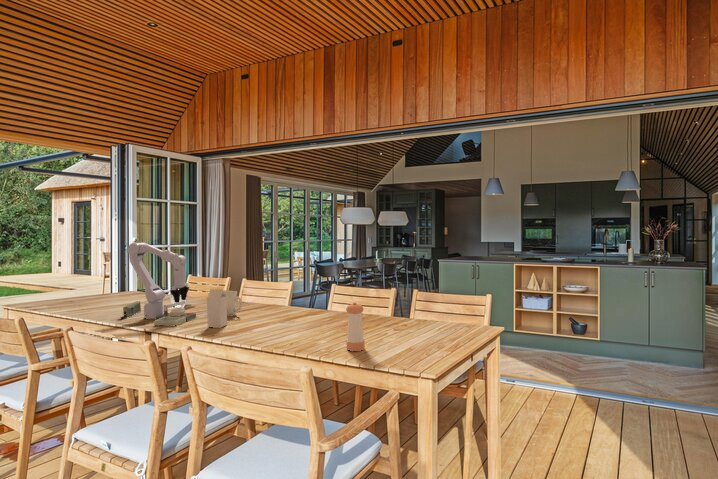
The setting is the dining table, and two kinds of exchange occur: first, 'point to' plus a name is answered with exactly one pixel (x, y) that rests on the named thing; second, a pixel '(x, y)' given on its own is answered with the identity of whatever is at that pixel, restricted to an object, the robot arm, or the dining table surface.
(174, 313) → the plug
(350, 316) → the pepper shaker
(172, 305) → the clip
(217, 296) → the milk carton
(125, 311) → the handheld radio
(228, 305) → the pitcher
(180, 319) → the tray
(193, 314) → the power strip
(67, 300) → the dining table surface
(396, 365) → the dining table surface
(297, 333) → the dining table surface
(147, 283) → the robot arm
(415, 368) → the dining table surface
